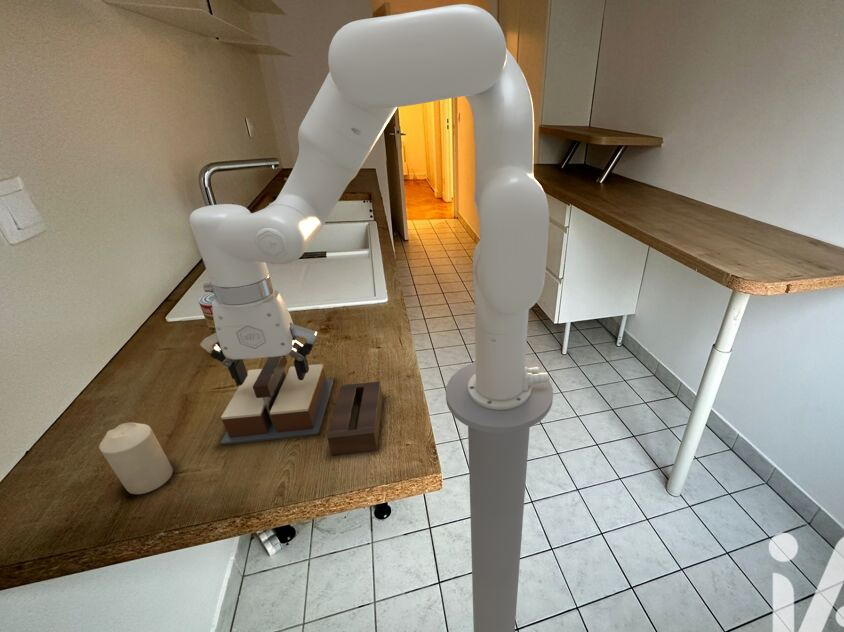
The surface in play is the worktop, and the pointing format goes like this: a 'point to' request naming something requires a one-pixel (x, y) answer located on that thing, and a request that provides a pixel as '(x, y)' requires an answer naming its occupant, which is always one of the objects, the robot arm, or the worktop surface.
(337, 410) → the knife block
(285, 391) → the cake
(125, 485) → the candle
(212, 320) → the canned food
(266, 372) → the cake cutter
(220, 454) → the worktop surface
